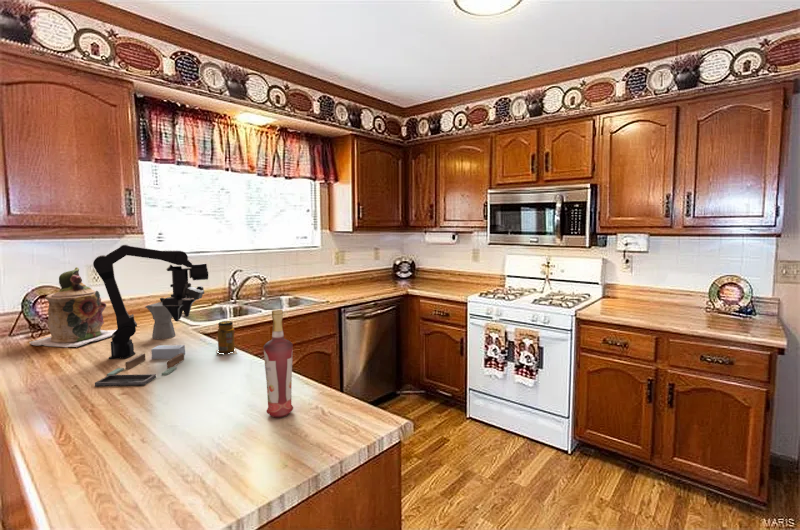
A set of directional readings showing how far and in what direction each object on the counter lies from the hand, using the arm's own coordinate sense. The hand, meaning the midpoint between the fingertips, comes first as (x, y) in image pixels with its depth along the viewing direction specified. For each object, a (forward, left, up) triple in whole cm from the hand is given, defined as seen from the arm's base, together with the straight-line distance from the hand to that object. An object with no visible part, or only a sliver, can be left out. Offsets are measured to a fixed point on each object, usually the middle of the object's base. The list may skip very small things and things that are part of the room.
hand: (182, 319), depth 171 cm
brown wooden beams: (0, -21, -12) cm, 24 cm away
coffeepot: (-16, +18, -12) cm, 27 cm away
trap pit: (0, -38, -12) cm, 40 cm away
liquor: (+55, -64, -12) cm, 85 cm away
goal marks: (0, -29, -12) cm, 32 cm away
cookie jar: (-53, +15, -12) cm, 56 cm away
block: (0, -12, -12) cm, 17 cm away
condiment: (+20, -7, -12) cm, 25 cm away
